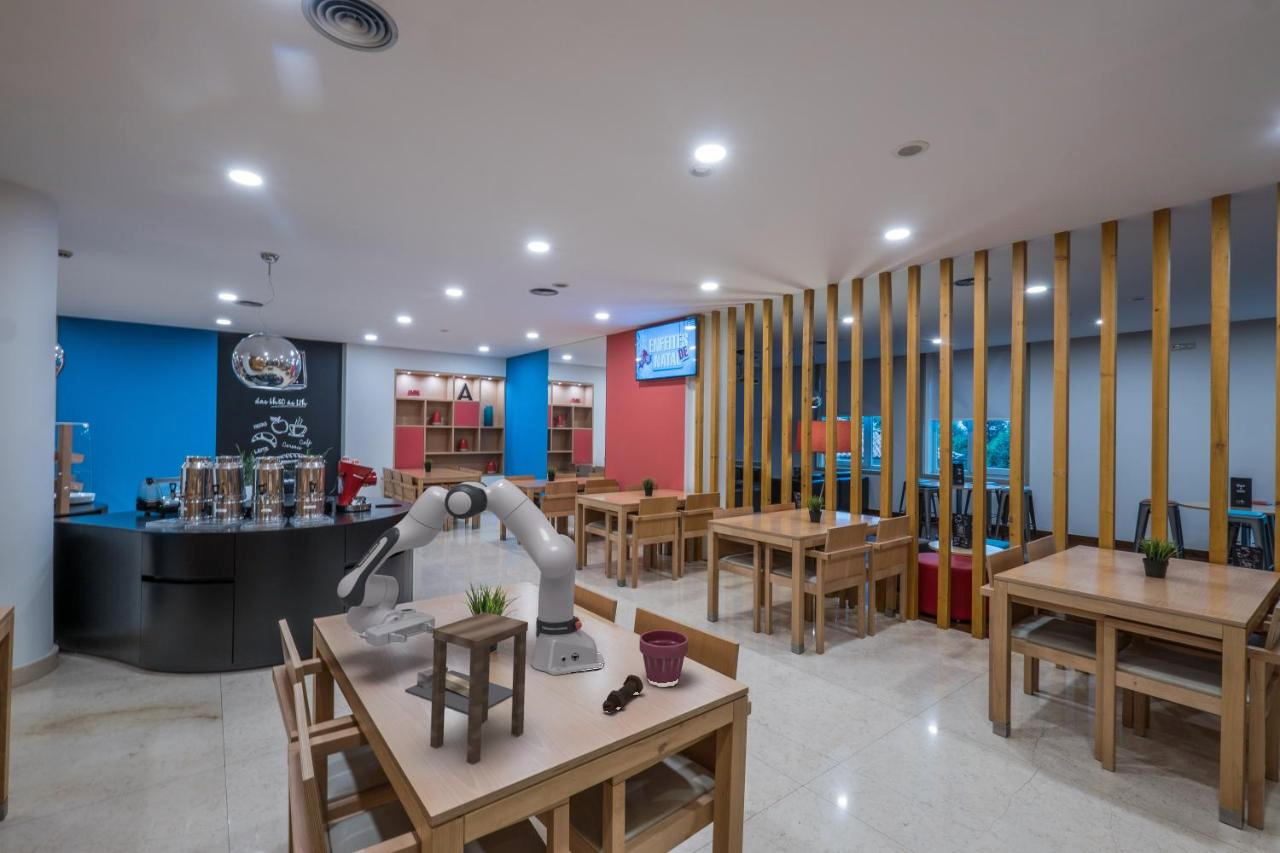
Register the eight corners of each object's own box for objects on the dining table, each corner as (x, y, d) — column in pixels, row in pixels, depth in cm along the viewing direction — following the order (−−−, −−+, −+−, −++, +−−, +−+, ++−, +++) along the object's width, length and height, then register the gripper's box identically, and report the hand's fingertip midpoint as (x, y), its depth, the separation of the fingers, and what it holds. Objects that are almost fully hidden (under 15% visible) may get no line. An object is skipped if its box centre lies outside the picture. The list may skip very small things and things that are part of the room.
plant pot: (656, 696, 155) (657, 649, 156) (629, 678, 167) (630, 634, 167) (697, 685, 163) (698, 640, 163) (668, 668, 175) (669, 626, 175)
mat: (405, 691, 154) (405, 689, 154) (451, 672, 168) (451, 670, 168) (473, 716, 141) (473, 714, 141) (517, 693, 155) (517, 691, 155)
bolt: (604, 722, 144) (632, 697, 157) (619, 716, 142) (646, 691, 155) (594, 699, 145) (623, 677, 159) (609, 693, 143) (637, 671, 157)
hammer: (474, 696, 146) (472, 710, 146) (493, 687, 152) (492, 700, 152) (417, 671, 157) (416, 684, 157) (438, 663, 163) (437, 676, 163)
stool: (428, 746, 127) (433, 629, 128) (481, 717, 141) (485, 612, 142) (473, 765, 120) (477, 641, 121) (524, 733, 134) (528, 622, 135)
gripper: (356, 623, 160) (387, 633, 153) (417, 607, 178) (447, 615, 171) (355, 646, 160) (386, 657, 153) (416, 627, 178) (446, 636, 171)
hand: (419, 634), depth 162 cm, fingers open, 8 cm apart
